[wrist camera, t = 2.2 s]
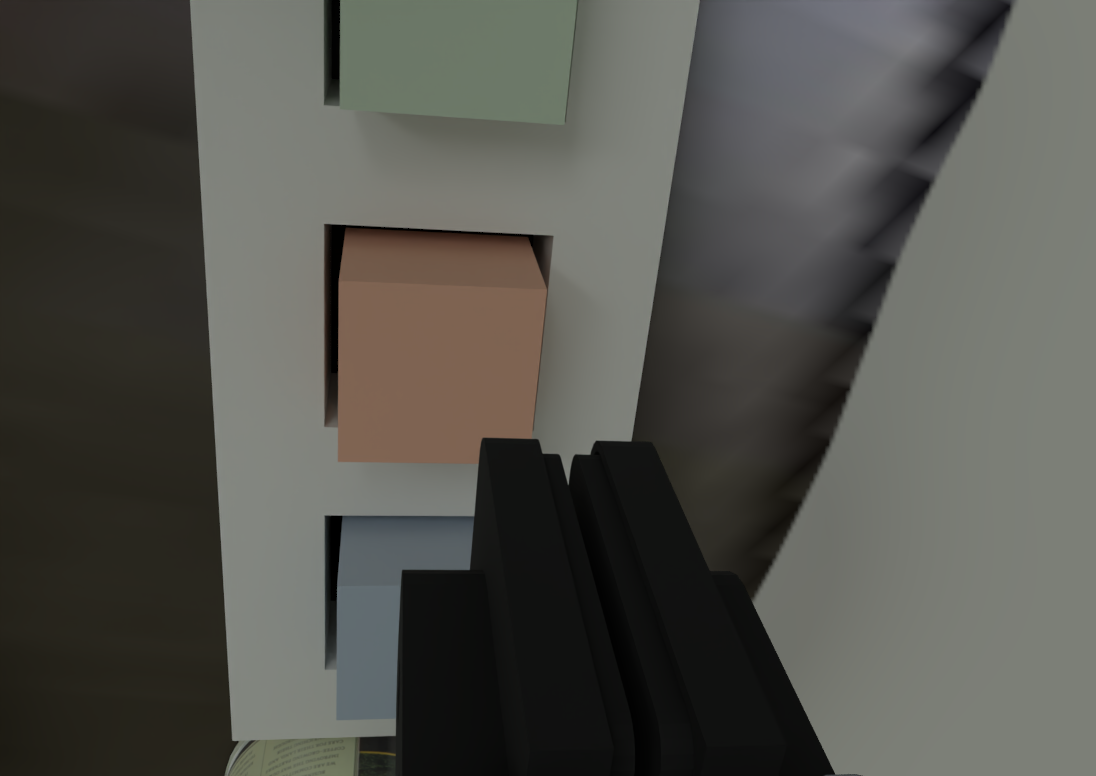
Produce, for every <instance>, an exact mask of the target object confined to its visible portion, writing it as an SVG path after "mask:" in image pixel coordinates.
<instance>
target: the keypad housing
mask: <svg viewBox="0 0 1096 776" xmlns="http://www.w3.org/2000/svg"><path fill="white" fill-rule="evenodd" d="M699 3H700V0H577V9H576V18H575V28H574V37H573V47H572V57H571V66H570V76H569V85H568V95H567V104H566V114H565V124H564V125H556V124H542V123H528V122H514V121H499V120H485V119H471V118H457V117H442V116H428V115H414V114H400V113H386V112H371V111H357V110H343V109H340V80H339V79H332V0H190V9H191V27H192V44H193V61H194V79H195V96H196V114H197V131H198V149H199V166H200V183H201V201H202V218H203V236H204V253H205V271H206V288H207V305H208V323H209V340H210V358H211V375H212V393H213V410H214V427H215V445H216V462H217V480H218V497H219V515H220V532H221V549H222V567H223V584H224V602H225V619H226V636H227V654H228V671H229V689H230V706H231V724H232V741H246V740H278V739H310V738H343V737H375V736H396V719H364V720H336V699H337V601H331V515H333V516H474V513H475V501H476V489H477V477H478V465H479V464H455V463H380V462H338V373H331V224H338V225H358V226H377V227H396V228H416V229H435V230H454V231H474V232H493V233H512V234H532V235H534V238H533V252H534V255H535V258H536V260H537V263H538V266H539V269H540V271H541V274H542V277H543V280H544V282H545V285H546V288H547V296H546V306H545V315H544V325H543V334H542V344H541V353H540V363H539V373H538V382H537V392H536V401H535V411H534V421H533V430H532V439H538V440H539V442H540V445H541V449H542V453H543V454H559V455H560V457H561V460H562V464H563V467H564V471H565V475H566V478H567V482H568V484H569V477H570V469H571V463H572V460H573V457H574V455H575V454H583V455H590V454H591V450H592V447H593V444H594V443H595V441H631V440H632V434H633V428H634V421H635V415H636V408H637V402H638V395H639V389H640V383H641V376H642V370H643V363H644V357H645V350H646V344H647V338H648V331H649V325H650V318H651V312H652V305H653V299H654V293H655V286H656V280H657V273H658V267H659V260H660V254H661V248H662V241H663V235H664V228H665V222H666V215H667V209H668V203H669V196H670V190H671V183H672V177H673V170H674V164H675V158H676V151H677V145H678V138H679V132H680V125H681V119H682V113H683V106H684V100H685V93H686V87H687V81H688V74H689V68H690V61H691V55H692V48H693V42H694V36H695V29H696V23H697V16H698V10H699Z"/></svg>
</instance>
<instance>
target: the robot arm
mask: <svg viewBox="0 0 1096 776" xmlns="http://www.w3.org/2000/svg"><path fill="white" fill-rule="evenodd" d="M395 776H861V775H857V774H844V775H835V773H834V771H833V769H832V767H831V765H830V763H829V760H828V758H827V756H826V754H825V752H824V750H823V748H822V746H821V744H820V742H819V740H818V738H817V736H816V734H815V732H814V730H813V727H812V725H811V724H810V721H809V719H808V717H807V715H806V713H805V711H804V709H803V707H802V705H801V703H800V701H799V698H798V696H797V694H796V692H795V690H794V688H793V686H792V684H791V682H790V680H789V678H788V676H787V674H786V672H785V670H784V667H783V665H782V663H781V661H780V659H779V657H778V655H777V653H776V651H775V649H774V647H773V645H772V643H771V640H770V639H769V636H768V634H767V633H766V630H765V628H764V626H763V624H762V622H761V620H760V618H759V616H758V614H757V612H756V609H755V608H754V605H753V603H752V601H751V599H750V597H749V595H748V593H747V591H746V589H745V587H744V585H743V583H742V582H741V580H740V579H739V577H738V576H737V575H736V574H734V573H732V572H730V571H709V569H708V566H707V564H706V562H705V560H704V557H703V555H702V553H701V550H700V548H699V546H698V544H697V541H696V539H695V537H694V535H693V532H692V530H691V528H690V526H689V523H688V521H687V519H686V517H685V514H684V512H683V510H682V508H681V505H680V503H679V501H678V499H677V496H676V494H675V492H674V490H673V487H672V485H671V483H670V481H669V478H668V476H667V474H666V472H665V469H664V467H663V465H662V463H661V460H660V458H659V456H658V454H657V451H656V449H655V447H654V446H653V444H652V443H651V442H633V441H595V443H594V444H593V447H592V450H591V454H590V455H583V454H575V455H574V457H573V460H572V463H571V469H570V477H569V484H568V482H567V478H566V475H565V471H564V467H563V464H562V460H561V457H560V455H559V454H543V453H542V449H541V445H540V442H539V440H538V439H521V438H482V441H481V446H480V454H479V465H478V477H477V489H476V501H475V513H474V525H473V537H472V549H471V561H470V570H402V574H401V591H400V612H399V634H398V659H397V693H396V763H395Z"/></svg>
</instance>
